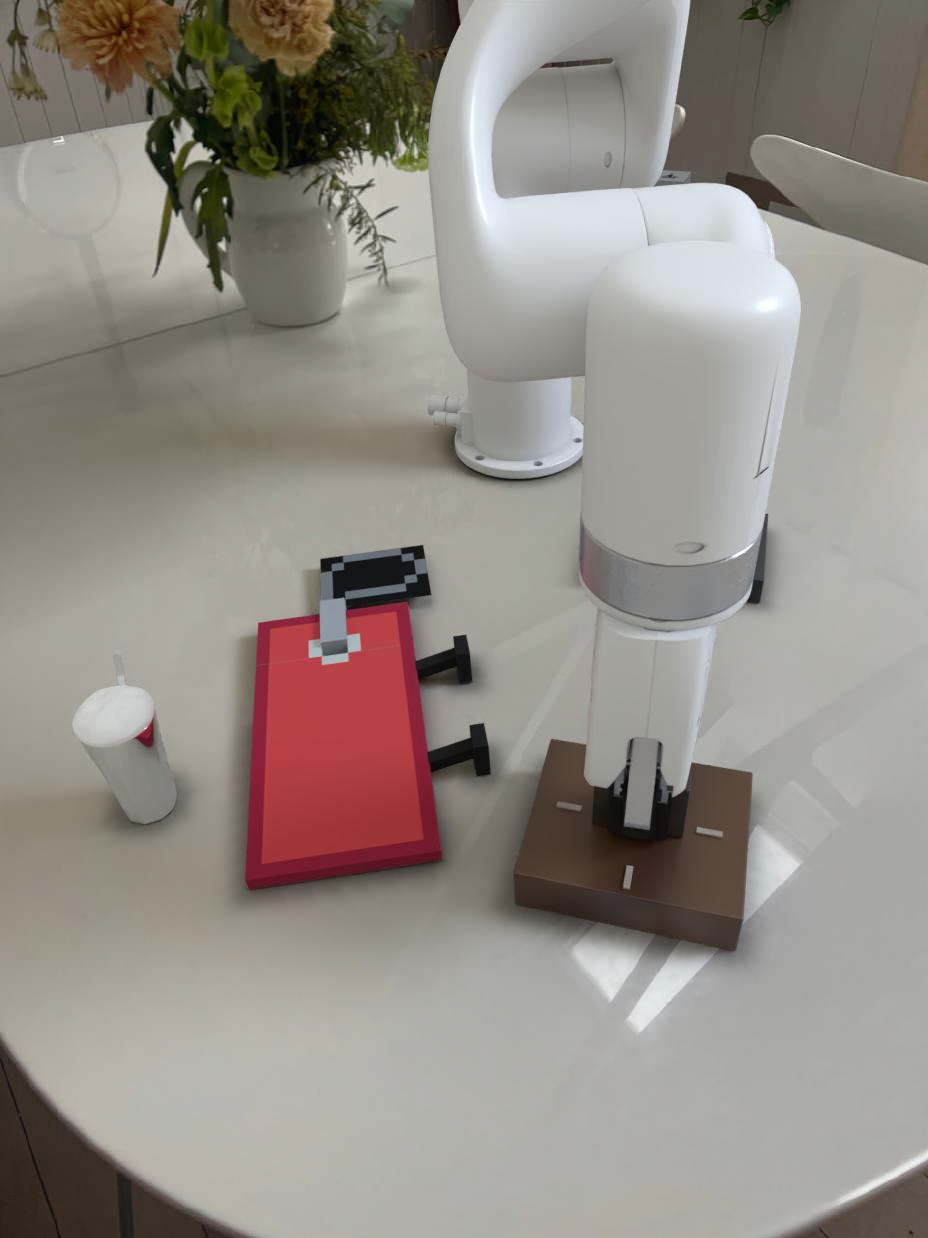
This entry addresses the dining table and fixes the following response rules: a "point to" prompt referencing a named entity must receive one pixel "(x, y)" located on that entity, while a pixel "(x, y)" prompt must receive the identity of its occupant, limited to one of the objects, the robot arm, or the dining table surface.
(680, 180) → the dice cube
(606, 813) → the box with red button
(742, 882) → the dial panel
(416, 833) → the red board with handle
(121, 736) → the milkshake
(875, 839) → the dining table surface
